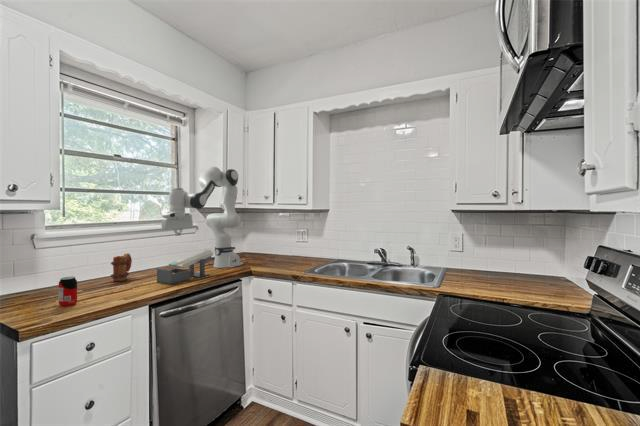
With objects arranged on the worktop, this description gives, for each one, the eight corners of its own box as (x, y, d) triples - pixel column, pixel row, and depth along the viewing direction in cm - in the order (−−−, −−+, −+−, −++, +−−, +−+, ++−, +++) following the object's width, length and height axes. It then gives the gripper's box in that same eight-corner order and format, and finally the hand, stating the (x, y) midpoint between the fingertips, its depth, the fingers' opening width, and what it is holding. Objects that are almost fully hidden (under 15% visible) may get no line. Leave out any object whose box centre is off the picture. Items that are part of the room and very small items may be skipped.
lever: (198, 257, 211) (196, 248, 209) (214, 259, 203) (212, 250, 202) (169, 270, 192) (166, 260, 191) (185, 272, 184) (183, 262, 183)
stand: (194, 273, 203) (194, 256, 203) (209, 276, 196) (209, 258, 196) (184, 276, 196) (183, 258, 196) (199, 278, 189) (198, 260, 189)
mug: (121, 282, 180) (121, 256, 180) (107, 282, 180) (107, 256, 180) (137, 276, 194) (136, 252, 194) (124, 276, 195) (123, 252, 194)
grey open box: (176, 278, 191) (176, 265, 191) (190, 280, 184) (190, 266, 184) (156, 282, 180) (156, 268, 180) (170, 285, 174) (170, 270, 173)
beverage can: (76, 305, 138) (76, 278, 138) (58, 308, 134) (57, 280, 134) (77, 301, 143) (77, 275, 143) (59, 304, 139) (59, 277, 139)
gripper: (188, 212, 208) (188, 233, 209) (159, 214, 190) (160, 237, 191) (194, 213, 205) (195, 234, 205) (166, 214, 187) (166, 237, 188)
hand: (178, 235), depth 198 cm, fingers closed
